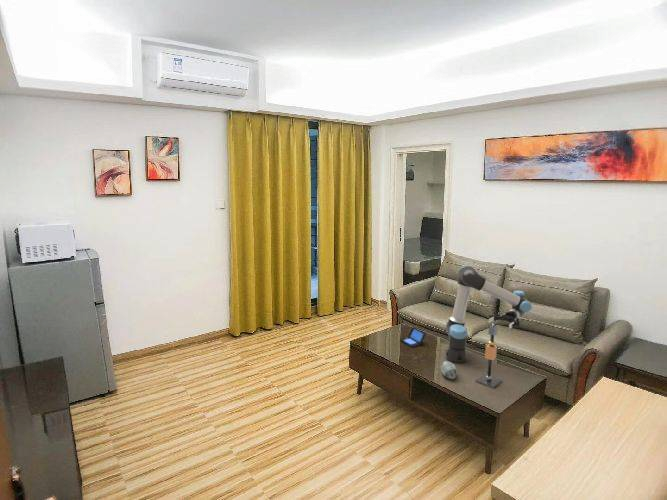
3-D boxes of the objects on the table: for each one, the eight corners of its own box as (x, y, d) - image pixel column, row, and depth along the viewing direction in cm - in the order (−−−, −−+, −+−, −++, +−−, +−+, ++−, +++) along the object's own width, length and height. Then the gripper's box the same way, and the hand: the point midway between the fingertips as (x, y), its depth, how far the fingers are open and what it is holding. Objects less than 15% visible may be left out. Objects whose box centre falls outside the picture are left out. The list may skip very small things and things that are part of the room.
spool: (461, 376, 259) (453, 362, 260) (447, 383, 260) (440, 368, 261) (457, 371, 273) (450, 357, 274) (444, 377, 274) (437, 363, 275)
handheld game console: (399, 340, 322) (399, 329, 320) (412, 337, 328) (413, 326, 326) (411, 348, 308) (412, 336, 307) (425, 344, 315) (426, 333, 313)
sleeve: (484, 357, 257) (485, 345, 256) (488, 355, 261) (489, 343, 259) (492, 360, 254) (493, 348, 252) (496, 357, 257) (497, 345, 256)
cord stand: (475, 381, 260) (479, 323, 253) (483, 374, 269) (488, 318, 261) (493, 388, 252) (499, 328, 244) (501, 381, 261) (507, 323, 253)
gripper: (530, 325, 278) (518, 334, 263) (493, 316, 295) (480, 324, 280) (531, 315, 276) (519, 323, 262) (494, 306, 293) (481, 313, 279)
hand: (499, 323), depth 271 cm, fingers open, 13 cm apart
